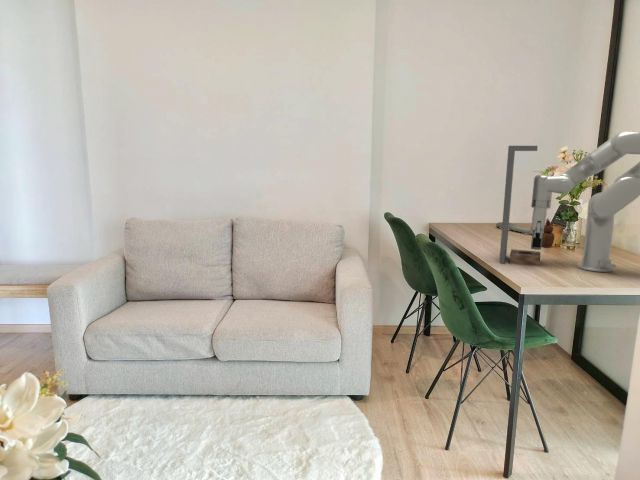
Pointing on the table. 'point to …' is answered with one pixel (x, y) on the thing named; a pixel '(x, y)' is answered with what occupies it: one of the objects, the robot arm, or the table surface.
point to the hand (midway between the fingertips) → (536, 245)
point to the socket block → (525, 257)
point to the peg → (532, 241)
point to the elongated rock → (516, 228)
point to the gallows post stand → (509, 196)
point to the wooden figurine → (547, 235)
